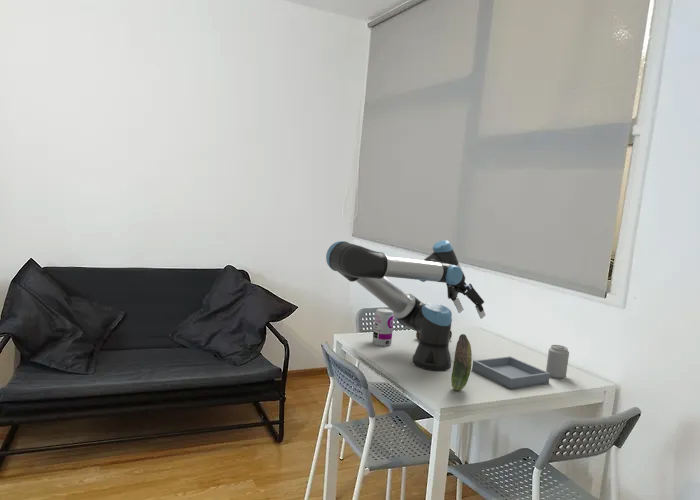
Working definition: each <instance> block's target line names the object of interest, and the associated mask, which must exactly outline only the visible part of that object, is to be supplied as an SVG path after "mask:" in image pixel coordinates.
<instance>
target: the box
mask: <svg viewBox="0 0 700 500" xmlns="http://www.w3.org/2000/svg"><path fill="white" fill-rule="evenodd" d="M471 371H472V372H475V373H476V374H478V375H480V376H482V377H484V378H486V379H489V380H490V381H492V382H494V383H496V384H498V385H501V386H502V387H503V388H506V389H508V390H516V389H521V388H522V389H523V388H529V387H536V386H541V385H548V384H550V378H551V377H550V373H548V372H546V370H543V369H541V368H539V367H536V366H535V365H532V364H529V363H527V362H525V361H522V360H520V359H517V358H516V357H513V356H511V355H509V356H501V357H493V358H484V359H483V358H482V359H476V360H475V359H474V360H473V359H472V364H471Z"/></svg>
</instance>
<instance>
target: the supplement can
mask: <svg viewBox="0 0 700 500" xmlns="http://www.w3.org/2000/svg"><path fill="white" fill-rule="evenodd" d="M394 319H395V317H394V315H393V310H392V309H390V308H383V307H382V308H377V309H376V311H375V312H374V323H373V333H372V343H373V344H374V345H376V346H380V347H389V346H390V345H391V344H392V339H393V332H394V331H393V329H394Z"/></svg>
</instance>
